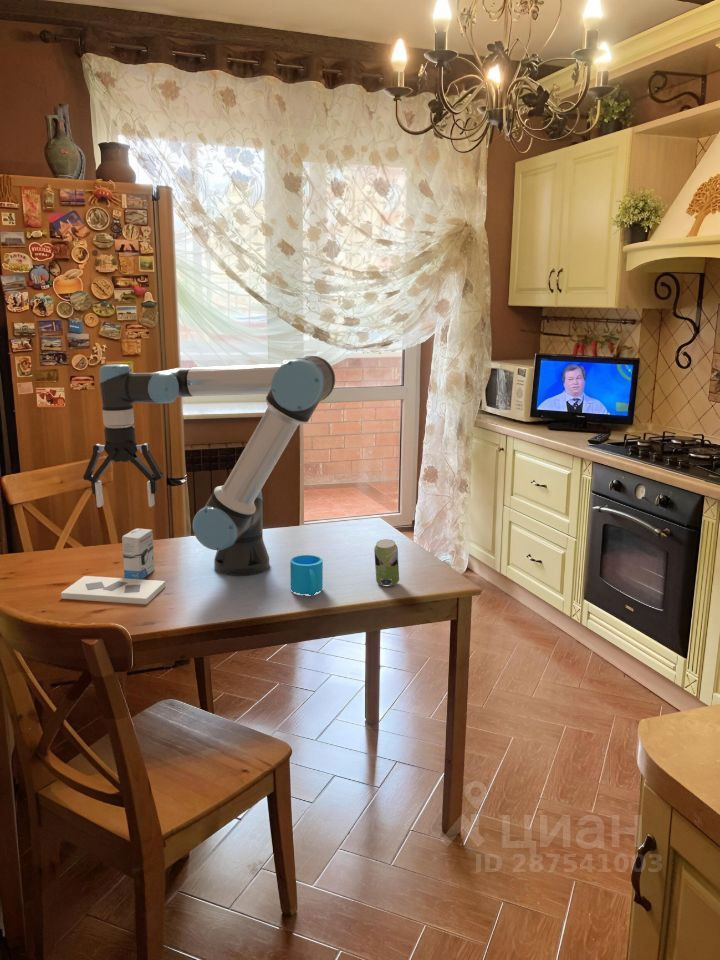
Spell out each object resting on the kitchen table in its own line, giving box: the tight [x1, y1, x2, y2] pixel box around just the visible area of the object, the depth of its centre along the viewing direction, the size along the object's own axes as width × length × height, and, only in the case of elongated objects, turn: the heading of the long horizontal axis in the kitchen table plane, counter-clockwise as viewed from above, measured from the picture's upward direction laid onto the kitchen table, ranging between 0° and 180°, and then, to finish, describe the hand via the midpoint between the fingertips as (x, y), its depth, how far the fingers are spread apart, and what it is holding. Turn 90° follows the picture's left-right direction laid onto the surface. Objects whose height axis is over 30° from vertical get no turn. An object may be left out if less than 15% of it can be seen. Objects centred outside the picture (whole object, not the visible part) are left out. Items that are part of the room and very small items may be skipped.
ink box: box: [121, 528, 155, 580], centre depth 202 cm, size 8×5×12 cm, turn 168°
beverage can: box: [373, 539, 400, 586], centre depth 197 cm, size 6×7×12 cm
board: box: [60, 575, 167, 605], centre depth 191 cm, size 22×12×2 cm, turn 82°
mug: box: [289, 554, 324, 596], centre depth 192 cm, size 12×8×8 cm
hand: (126, 505), depth 199 cm, fingers open, 13 cm apart
